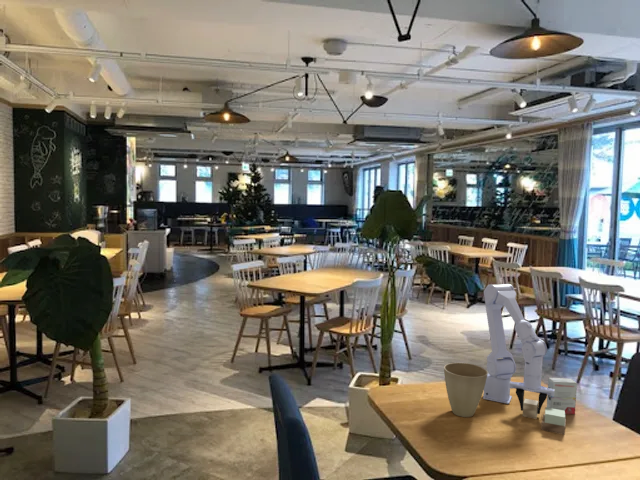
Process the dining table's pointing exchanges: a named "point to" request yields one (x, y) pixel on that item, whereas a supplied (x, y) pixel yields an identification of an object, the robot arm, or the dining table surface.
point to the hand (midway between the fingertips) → (530, 411)
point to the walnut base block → (552, 427)
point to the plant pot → (464, 387)
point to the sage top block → (555, 416)
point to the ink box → (562, 394)
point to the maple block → (530, 408)
